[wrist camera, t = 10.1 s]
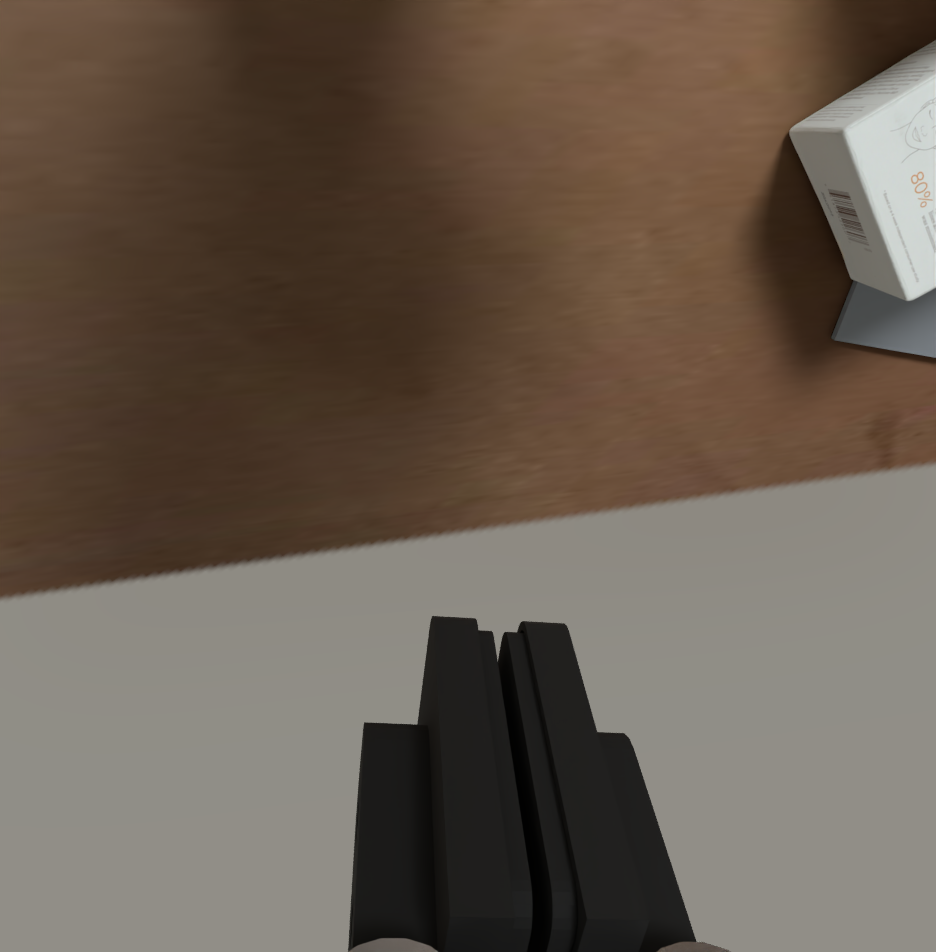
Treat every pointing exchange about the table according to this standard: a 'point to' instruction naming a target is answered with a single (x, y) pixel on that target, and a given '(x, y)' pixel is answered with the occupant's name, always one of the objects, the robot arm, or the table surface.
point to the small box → (880, 175)
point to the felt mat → (888, 321)
